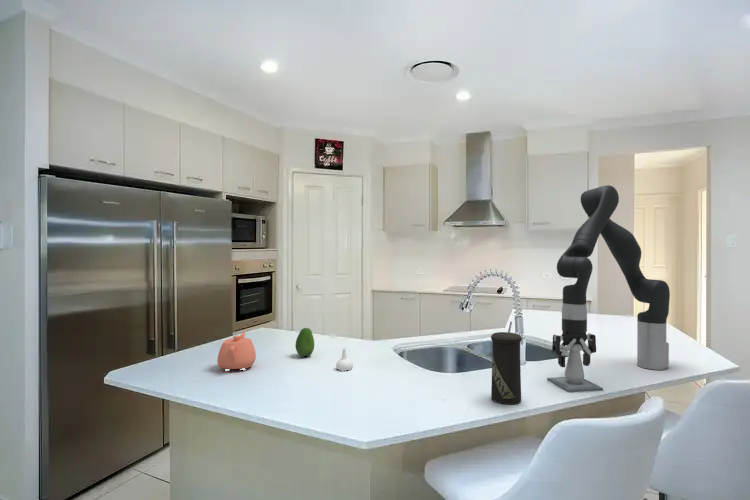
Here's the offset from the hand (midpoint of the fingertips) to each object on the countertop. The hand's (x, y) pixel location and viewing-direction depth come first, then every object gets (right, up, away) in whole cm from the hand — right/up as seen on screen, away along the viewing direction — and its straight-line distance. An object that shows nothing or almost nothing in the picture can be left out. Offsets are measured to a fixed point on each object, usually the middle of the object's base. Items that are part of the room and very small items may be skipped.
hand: (574, 366), depth 137 cm
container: (-27, -7, -13) cm, 30 cm away
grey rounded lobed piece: (0, -6, 0) cm, 6 cm away
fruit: (-95, -6, +36) cm, 102 cm away
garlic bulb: (-77, -7, +18) cm, 80 cm away
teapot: (-118, -7, +21) cm, 120 cm away
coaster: (0, -6, 0) cm, 6 cm away
